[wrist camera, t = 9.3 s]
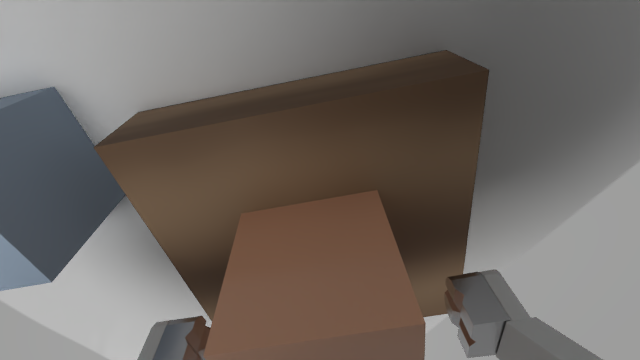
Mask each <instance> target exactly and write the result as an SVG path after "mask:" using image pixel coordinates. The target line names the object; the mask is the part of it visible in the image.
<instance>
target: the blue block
mask: <svg viewBox="0 0 640 360" xmlns="http://www.w3.org/2000/svg"><path fill="white" fill-rule="evenodd" d="M93 147H95V146H94V145H93V143H92V142H91V140H90V139H89V137H88V136H87V134H86V133H85V131H84V130H83V128H82V127H81V125H80V124H79V122H78V121H77V120H76V118H75V117H74V115H73V114H72V112H71V111H70V109H69V108H68V106H67V105H66V103H65V102H64V100H63V99H62V97H61V96H60V94H59V93H58V91H57V90H56V89H55V87H50V88H46V89H41V90H36V91H31V92H27V93H22V94H17V95H12V96H8V97H3V98H0V291H3V290H9V289H14V288H20V287H26V286H32V285H38V284H44V283H50V282H52V281H53V280H54V279H55V278H56V277H57V276H58V274H59V273H60V272H61V271H62V270H63V268H64V267H65V266H66V265H67V264H68V262H69V261H70V260H71V259H72V258H73V256H74V255H75V254H76V253H77V252H78V251H79V249H80V248H81V247H82V246H83V245H84V243H85V242H86V241H87V240H88V239H89V237H90V236H91V235H92V234H93V233H94V232H95V230H96V229H97V228H98V227H99V226H100V224H101V223H102V222H103V221H104V220H105V218H106V217H107V216H108V215H109V214H110V212H111V211H112V210H113V209H114V208H115V207H116V205H117V204H118V203H119V202H120V201H121V199H122V198H123V197H124V196H125V195H126V194H125V193H124V192H123V190H122V189H121V187H120V186H119V184H118V183H117V181H116V180H115V178H114V177H113V175H112V174H111V172H110V171H109V170H108V168H107V167H106V165H105V164H104V162H103V161H102V159H101V158H100V156H99V155H98V153H97V152H96V150H95V149H94V148H93Z"/></svg>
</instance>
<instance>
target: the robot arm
mask: <svg viewBox="0 0 640 360" xmlns="http://www.w3.org/2000/svg"><path fill="white" fill-rule="evenodd" d="M445 285H446V287H447V289H448V290H447V291H446V292H445V294H444V300H445V306H446V309H447V312H448V315H449V318H450V320H451V322H452V323H453V324H454V325H456V326H457V327H458V328H459V329H458V338H459V340H460V343H461V345H462V347H463V349H464V352H465V354H466V356H467V358H471V357H480V356H489V355H496V357H497V358H499V359H500V360H603V359H601V358H599V357H598V356H596V355H595V354H593V353H592V352H590V351H588V350H587V349H585V348H583V347H582V346H580V345H579V344H577V343H576V342H574V341H573V340H571V339H569V338H568V337H566V336H565V335H563V334H562V333H560V332H559V331H557V330H555V329H554V328H552V327H551V326H549V325H547V324H546V323H544V322H542V321H541V320H539V319H538V318H536V317H534V318H531V317H530V316H529V315H528V313H527V312H526V310H525V309H524V307H523V306H522V304H521V303H520V302H519V300H518V299H517V297H516V296H515V294H514V293H513V291H512V290H511V288H510V287H509V286H508V284H507V283H506V281H505V280H504V278H503V277H502V275H501V274H500V272H498V271H497V270H488V271H482V272H474V273H468V274H462V275H456V276H451V277H447V278H446V281H445ZM205 324H206V320H205V319H204V318H203V316H197V317H190V318H184V319H177V320H169V321H162V322H156V323H155V325H154V326H153V327H152V328H151V330H150V333H149V335H148V337H147V339H146V342H145V344H144V346H143V348H142V351H141V353H140V355H139V357H138V360H206V359H205V358H204V357H203V355H204V351H205V348H206V344H207V340H208V336H209V333H210V329H211V328H209V327H207V326H205Z"/></svg>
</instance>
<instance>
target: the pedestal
mask: <svg viewBox="0 0 640 360" xmlns="http://www.w3.org/2000/svg"><path fill="white" fill-rule="evenodd" d="M488 75H489V70H488V69H486V68H484V67H482V66H480V65H477V64H475V63H473V62H471V61H469V60H467V59H465V58H462V57H460V56H458V55H456V54H454V53H452V52H449V51H447V50H445V51H440V52H435V53H430V54H425V55H420V56H415V57H410V58H405V59H400V60H395V61H390V62H386V63H381V64H376V65H371V66H366V67H361V68H356V69H351V70H346V71H341V72H336V73H331V74H326V75H321V76H316V77H311V78H306V79H301V80H296V81H291V82H286V83H281V84H276V85H271V86H266V87H261V88H257V89H252V90H247V91H242V92H237V93H232V94H227V95H222V96H217V97H212V98H207V99H202V100H197V101H192V102H187V103H182V104H177V105H172V106H167V107H162V108H157V109H152V110H147V111H142V112H138V113H137V114H135V115H134V116H133V117H132V118H130V119H129V120H128V121H127V122H125V123H124V124H123V125H121V126H120V127H119V128H118V129H116V130H115V131H114V132H113V133H111V134H110V135H109V136H107V137H106V138H105V139H104V140H102V141H101V142H100V143H99V144H97V145H96V146H95V147H93V148H94V149H95V150H96V152H97V153H98V155H99V156H100V158H101V159H102V161H103V162H104V164H105V165H106V167H107V168H108V170H109V171H110V172H111V174H112V175H113V177H114V178H115V180H116V181H117V183H118V184H119V186H120V187H121V189H122V190H123V192H124V193H125V194H126V196H127V197H128V199H129V200H130V202H131V203H132V205H133V206H134V208H135V209H136V211H137V212H138V214H139V215H140V216H141V218H142V219H143V221H144V222H145V224H146V225H147V227H148V228H149V230H150V231H151V233H152V234H153V236H154V237H155V238H156V240H157V241H158V243H159V244H160V246H161V247H162V249H163V250H164V252H165V253H166V255H167V256H168V258H169V259H170V260H171V262H172V263H173V265H174V266H175V268H176V269H177V271H178V272H179V274H180V275H181V277H182V278H183V280H184V281H185V282H186V284H187V285H188V287H189V288H190V290H191V291H192V293H193V294H194V296H195V297H196V299H197V300H198V302H199V303H200V304H201V306H202V307H203V309H204V310H205V312H206V313H207V315H208V316H209V318H210V319H211V321H213V318H214V314H215V310H216V306H217V303H218V299H219V295H220V291H221V288H222V284H223V280H224V276H225V273H226V269H227V265H228V261H229V258H230V254H231V250H232V246H233V243H234V239H235V235H236V231H237V228H238V224H239V220H240V216H241V214H242V213H248V212H253V211H259V210H265V209H271V208H276V207H282V206H288V205H294V204H299V203H305V202H311V201H317V200H322V199H328V198H334V197H340V196H345V195H351V194H357V193H363V192H368V191H374V190H377V191H378V194H379V196H380V199H381V202H382V205H383V207H384V210H385V213H386V216H387V219H388V221H389V224H390V227H391V230H392V232H393V235H394V238H395V241H396V243H397V246H398V249H399V252H400V255H401V257H402V260H403V263H404V266H405V268H406V271H407V274H408V277H409V279H410V282H411V285H412V288H413V291H414V293H415V296H416V299H417V302H418V304H419V307H420V310H421V313H422V315H423V317H428V316H434V315H441V314H448V312H447V309H446V306H445V300H444V294H445V292H446V291H447V290H448V289H447V287H446V285H445V281H446V278H447V277H451V276H456V275H462V274H463V269H464V262H465V254H466V246H467V238H468V230H469V223H470V215H471V207H472V199H473V192H474V184H475V176H476V168H477V160H478V153H479V145H480V137H481V129H482V121H483V114H484V106H485V98H486V90H487V82H488Z"/></svg>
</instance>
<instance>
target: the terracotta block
mask: <svg viewBox="0 0 640 360" xmlns="http://www.w3.org/2000/svg"><path fill="white" fill-rule="evenodd" d="M424 355H425V321H424V318H423V315H422V313H421V310H420V307H419V304H418V302H417V299H416V296H415V293H414V291H413V288H412V285H411V282H410V279H409V277H408V274H407V271H406V268H405V266H404V263H403V260H402V257H401V255H400V252H399V249H398V246H397V243H396V241H395V238H394V235H393V232H392V230H391V227H390V224H389V221H388V219H387V216H386V213H385V210H384V207H383V205H382V202H381V199H380V196H379V194H378V191H377V190H374V191H368V192H363V193H357V194H351V195H345V196H340V197H334V198H328V199H322V200H317V201H311V202H305V203H299V204H294V205H288V206H282V207H276V208H271V209H265V210H259V211H253V212H248V213H242V214H241V216H240V220H239V224H238V228H237V231H236V235H235V239H234V243H233V246H232V250H231V254H230V258H229V261H228V265H227V269H226V273H225V276H224V280H223V284H222V288H221V291H220V295H219V299H218V303H217V306H216V310H215V314H214V318H213V321H212V325H211V329H210V333H209V336H208V340H207V344H206V348H205V351H204V355H203V357H204V358H205V359H206V360H424Z"/></svg>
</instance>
